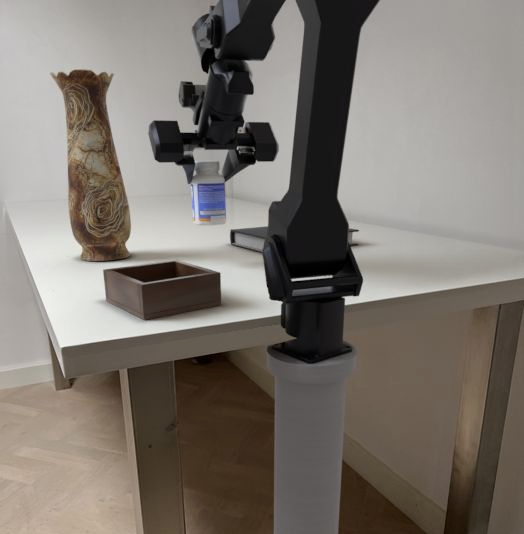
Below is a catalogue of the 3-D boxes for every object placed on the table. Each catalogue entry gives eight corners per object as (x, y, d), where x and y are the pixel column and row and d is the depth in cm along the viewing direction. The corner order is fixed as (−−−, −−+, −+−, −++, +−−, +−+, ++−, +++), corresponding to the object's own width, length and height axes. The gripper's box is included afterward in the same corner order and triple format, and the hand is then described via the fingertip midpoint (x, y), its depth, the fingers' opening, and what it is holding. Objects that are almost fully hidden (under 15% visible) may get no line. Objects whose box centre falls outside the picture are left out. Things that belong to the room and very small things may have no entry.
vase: (112, 264, 93) (93, 66, 83) (60, 260, 97) (35, 69, 87) (144, 253, 103) (130, 74, 93) (95, 250, 106) (77, 77, 96)
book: (313, 235, 124) (313, 222, 123) (358, 244, 112) (359, 229, 111) (229, 244, 113) (229, 229, 112) (270, 255, 101) (270, 238, 100)
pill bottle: (233, 223, 90) (231, 160, 87) (208, 226, 86) (206, 161, 83) (210, 221, 94) (208, 160, 90) (185, 224, 90) (182, 161, 87)
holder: (221, 304, 69) (220, 272, 68) (144, 320, 63) (141, 284, 61) (178, 289, 77) (176, 259, 75) (106, 301, 71) (102, 269, 69)
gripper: (271, 63, 82) (247, 144, 95) (145, 56, 76) (138, 144, 89) (293, 117, 78) (264, 194, 91) (161, 115, 71) (151, 198, 85)
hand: (205, 181), depth 89 cm, fingers closed on pill bottle, 5 cm apart
